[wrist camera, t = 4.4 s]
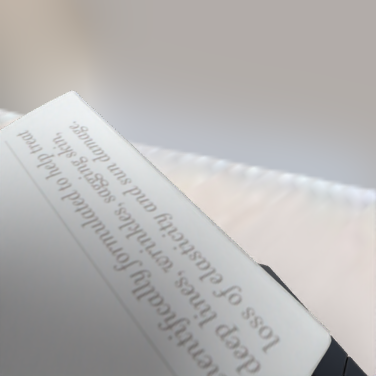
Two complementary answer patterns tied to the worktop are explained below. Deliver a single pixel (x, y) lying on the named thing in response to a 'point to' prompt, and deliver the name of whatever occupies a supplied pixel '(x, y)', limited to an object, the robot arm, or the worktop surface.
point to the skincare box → (127, 266)
